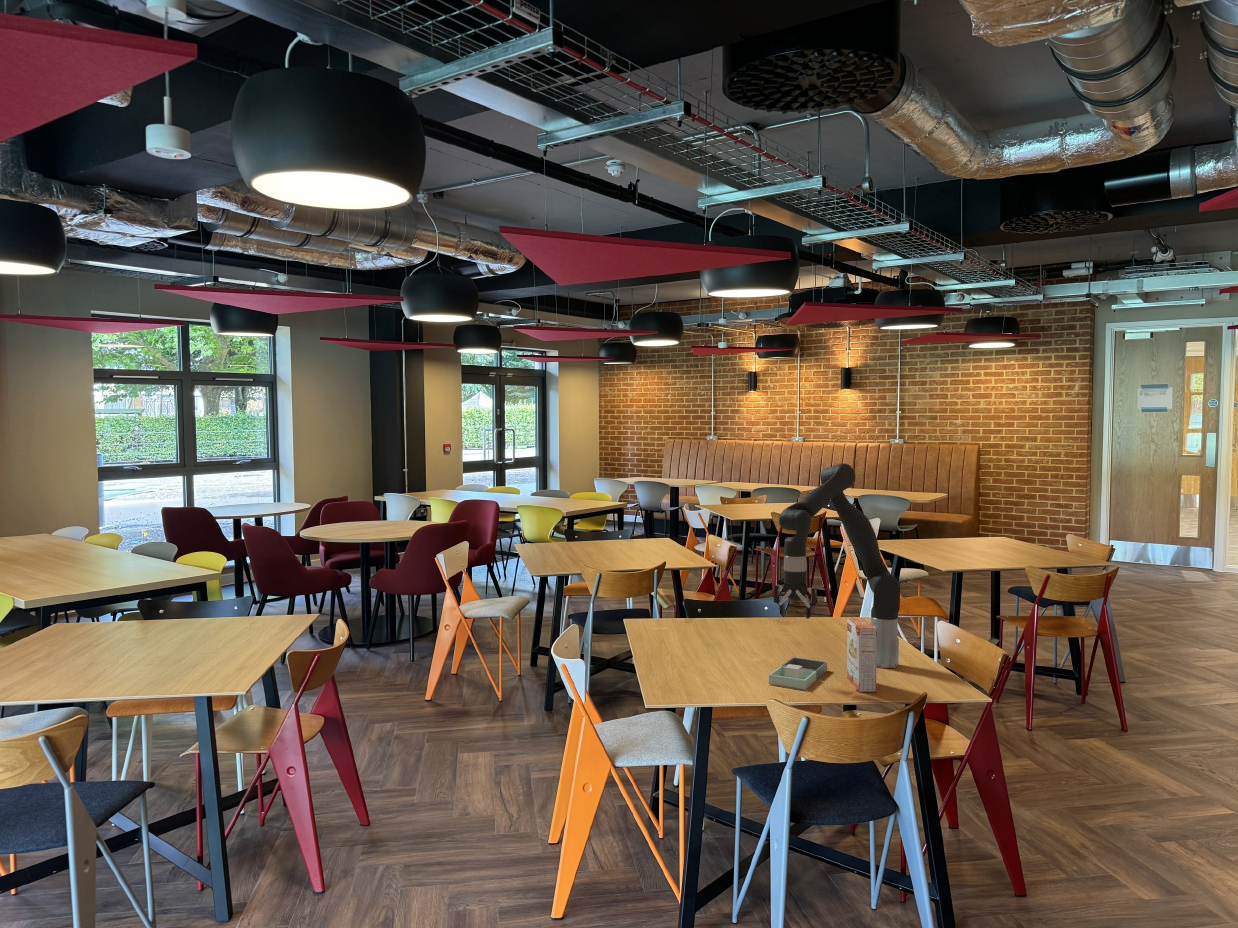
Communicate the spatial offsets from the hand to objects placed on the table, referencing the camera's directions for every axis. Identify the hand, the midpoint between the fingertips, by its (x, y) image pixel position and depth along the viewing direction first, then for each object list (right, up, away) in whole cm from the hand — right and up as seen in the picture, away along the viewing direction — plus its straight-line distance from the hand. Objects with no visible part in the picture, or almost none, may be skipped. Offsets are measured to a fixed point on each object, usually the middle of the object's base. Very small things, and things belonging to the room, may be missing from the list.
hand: (795, 617), depth 263 cm
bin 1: (-2, -21, -4) cm, 22 cm away
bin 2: (+5, -21, +7) cm, 23 cm away
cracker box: (+20, -22, -7) cm, 30 cm away
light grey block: (-2, -21, -4) cm, 21 cm away
